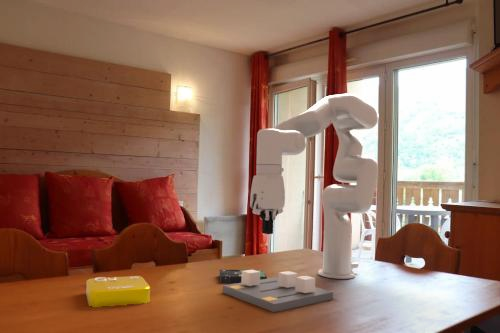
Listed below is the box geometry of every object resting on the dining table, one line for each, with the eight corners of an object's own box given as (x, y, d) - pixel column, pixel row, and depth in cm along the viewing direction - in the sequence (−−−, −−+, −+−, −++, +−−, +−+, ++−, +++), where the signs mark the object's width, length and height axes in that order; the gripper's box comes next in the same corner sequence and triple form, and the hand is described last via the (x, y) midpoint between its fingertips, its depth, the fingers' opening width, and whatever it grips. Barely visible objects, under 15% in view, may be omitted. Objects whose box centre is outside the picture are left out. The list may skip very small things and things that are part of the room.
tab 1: (252, 281, 131) (252, 269, 131) (259, 284, 128) (260, 271, 128) (241, 283, 128) (241, 270, 128) (249, 286, 125) (249, 273, 125)
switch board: (279, 283, 140) (279, 276, 140) (332, 299, 123) (333, 291, 123) (222, 292, 127) (222, 285, 127) (273, 312, 109) (274, 303, 110)
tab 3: (305, 288, 125) (305, 275, 125) (314, 291, 122) (315, 278, 122) (295, 290, 122) (295, 277, 122) (304, 293, 119) (305, 279, 119)
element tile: (89, 309, 108) (90, 290, 108) (85, 294, 122) (86, 276, 122) (151, 304, 114) (151, 285, 114) (140, 290, 128) (141, 273, 128)
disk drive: (220, 285, 138) (267, 285, 139) (220, 276, 138) (267, 276, 139) (218, 277, 148) (262, 277, 150) (219, 269, 148) (262, 269, 150)
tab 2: (288, 283, 130) (288, 271, 130) (297, 285, 127) (297, 273, 127) (278, 285, 128) (278, 272, 128) (286, 287, 125) (287, 274, 125)
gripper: (279, 171, 138) (278, 230, 138) (241, 170, 129) (239, 233, 128) (296, 171, 132) (294, 233, 132) (257, 170, 123) (255, 236, 122)
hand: (267, 233), depth 130 cm, fingers closed
